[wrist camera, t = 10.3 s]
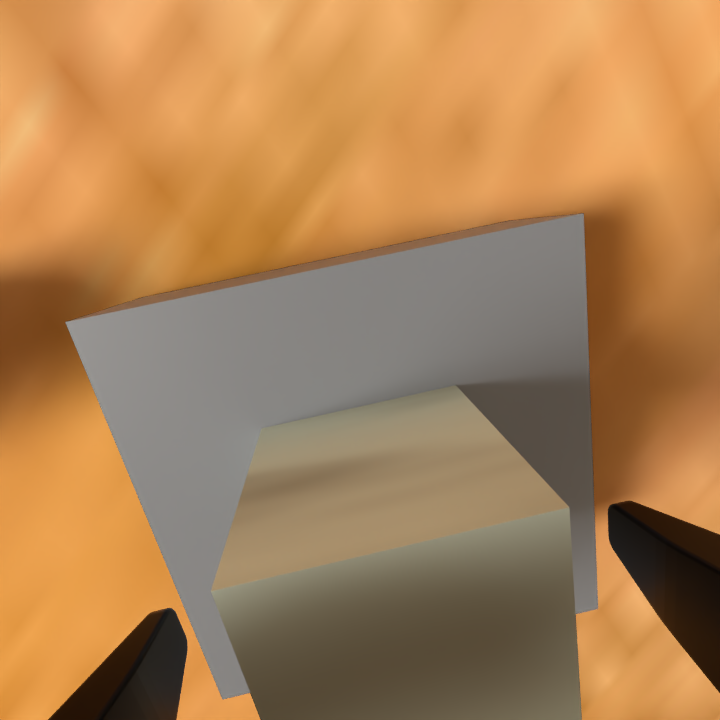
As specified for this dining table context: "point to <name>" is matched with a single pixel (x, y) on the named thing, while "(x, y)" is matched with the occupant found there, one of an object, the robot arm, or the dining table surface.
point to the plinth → (344, 378)
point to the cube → (400, 571)
